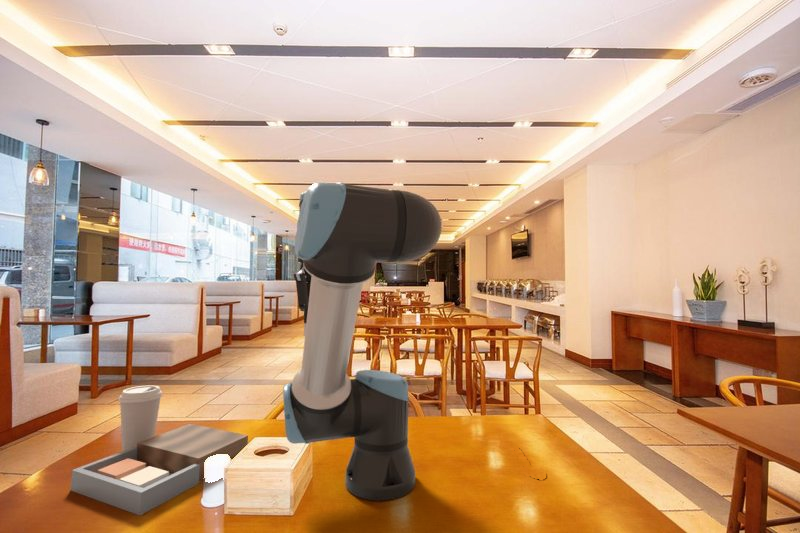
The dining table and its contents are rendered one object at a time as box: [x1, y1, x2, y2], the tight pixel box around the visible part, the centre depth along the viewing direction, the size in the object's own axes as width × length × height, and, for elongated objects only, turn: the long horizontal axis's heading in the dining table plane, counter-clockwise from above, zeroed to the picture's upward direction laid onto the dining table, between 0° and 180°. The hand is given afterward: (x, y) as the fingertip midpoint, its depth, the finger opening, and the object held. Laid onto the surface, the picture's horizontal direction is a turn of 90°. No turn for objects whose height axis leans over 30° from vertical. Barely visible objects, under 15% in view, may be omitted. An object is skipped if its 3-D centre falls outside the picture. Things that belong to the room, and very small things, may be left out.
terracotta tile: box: [97, 458, 146, 480], centre depth 78 cm, size 6×6×3 cm
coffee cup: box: [117, 384, 164, 452], centre depth 96 cm, size 10×10×15 cm
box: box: [70, 447, 200, 516], centre depth 77 cm, size 21×12×4 cm, turn 68°
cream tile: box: [119, 466, 169, 488], centre depth 75 cm, size 6×6×3 cm
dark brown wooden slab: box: [137, 423, 249, 483], centre depth 89 cm, size 20×14×5 cm
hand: (309, 335), depth 100 cm, fingers closed
